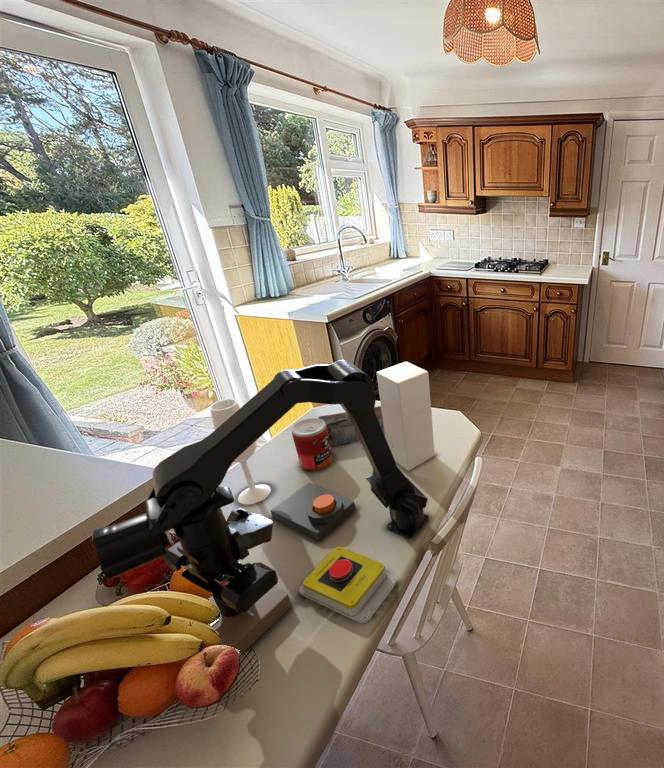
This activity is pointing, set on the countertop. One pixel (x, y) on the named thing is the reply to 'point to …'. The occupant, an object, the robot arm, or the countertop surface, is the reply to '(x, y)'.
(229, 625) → the dial console
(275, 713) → the countertop surface
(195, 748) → the countertop surface
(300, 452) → the canned food
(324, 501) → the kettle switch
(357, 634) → the countertop surface
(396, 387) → the tall white carton
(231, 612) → the knob
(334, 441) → the beverage carton
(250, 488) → the champagne flute
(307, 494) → the emergency button base
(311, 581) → the emergency button
